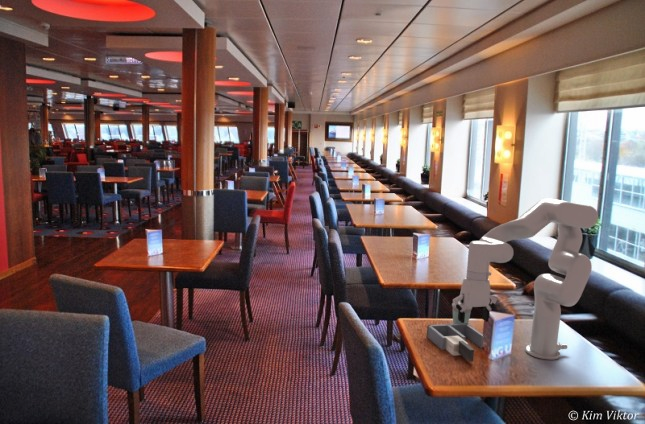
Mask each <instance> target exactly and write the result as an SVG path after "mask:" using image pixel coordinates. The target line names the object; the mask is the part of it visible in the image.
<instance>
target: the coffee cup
mask: <svg viewBox="0 0 645 424" xmlns="http://www.w3.org/2000/svg"><path fill="white" fill-rule="evenodd" d="M458 304H459V305H460V304H461V303H460V301H459V302H458ZM451 306H452V324H468V325H469V322H470V317H471V313H472V312H471V311H472V309H473V307H467V308H466V309H465V311H464V312H465V320H464V323H461V322H460V321H459V320H458V311H459V310H458V309H457V308H456V307H455V306H454V303H453V302H452V303H451Z"/></svg>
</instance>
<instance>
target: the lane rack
mask: <svg viewBox="0 0 645 424" xmlns="http://www.w3.org/2000/svg"><path fill="white" fill-rule="evenodd" d="M483 335H484V334H483V333H481V332H480V331H479V330H477V329H476V328H474V327H473V326H471V325H470V324H469V323H468V324H453V323H449V324H448V323H447V324H445V323H444V324H428V325H427V328H426V338H428V339H429V340H430V341H431V342H432V343H433V344H434V345H435V346H437V348H439V349H440V350H441V351H446V349H445V343H446V338H445V337H444V336H459V337H461V338H462V339H463V340H464V341H466V339H469V340H470V341H471V343H473V344H475V345H476V346H477V347H479V348H480V349H483V348H482V347H483V339H484V336H485V335H484V336H483ZM484 340H485V339H484Z"/></svg>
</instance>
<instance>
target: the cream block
mask: <svg viewBox="0 0 645 424" xmlns="http://www.w3.org/2000/svg"><path fill="white" fill-rule="evenodd" d="M444 337H445V338H446V343H445V351H447V352H448V353H449V354H450V355H451V356H455V357H456V356H461V357H463V358H464V359H465V360H467V362H470V363H471V362H474V355H475V349H474V348H473V347H471V346H470V345H469V343H468V342H467V341H466V340H465V341H464V340H463V339H462V338H461V337H459V336H444Z"/></svg>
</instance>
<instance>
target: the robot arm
mask: <svg viewBox="0 0 645 424" xmlns="http://www.w3.org/2000/svg"><path fill="white" fill-rule="evenodd" d="M598 220H599V213H598V210H597V209H596V208H595V207H594V206H591V205H587V204H581V203H575V202H571V201H566V200H561V199H554V198H543V199H540V200H539V201H537V202H536V204H534V205H533V206H531V207H530V208H529V209H528V210H526V211H525V212H524V213H523V214H522V215H520V216H519V217H517V218H516V219H513V220H510V221H507V222H505V223H502V224H499V225H498V226H496V227H493V228H492V229H490V230H489V231H488V232H487V233H485V234H484V235H483V236H481V238H480V239H479V240H472V241H470V243H469V245H468V250H467V251H468V254H467V265H466V267H467V268H466V276H465V277H464V278H463V280H462V283H461V287H460V293H459V295H457V296H456V297H455V298H453V299H452V303H454V306H455V307H456V308H457V309H458V310H459V311H458V320H459V321H460V322H461V323H464V320H465V312H464V311H465V309H466V308H467V307H472V308H478V307H479V308H481V307H483V309H482V315H481V316H482V320H483V321H484V322H487V323H488V322H489V319H490V312H492V309H493V308H494V307H495V305H496V303H497V301H498V298H496V296H493V295H491V282H490V279H489V277H491V276H492V272H491V271H490V263H498V264H502V263H503V264H504V263H507V262H510V261H511V260H512V259H513V256H514V248H513V247H512V245H511V244H510V243H508V242H510V241H514V240H516V241H517V240H524V239H530V238H533V237H534V236H536V235H537V234H538V233H539V232H541V231H542V230H543V229H545V228H546V227H547V226H548V225H549V224H551V223H553V224H557V226H558V237H557V239H556V241H555V244H554V247H553V249H552V251H551V253H550V256H549V258H548V267H549V269H550V270H551V271H553V272H555V273H558V274H561V275H564V276H565V278H563V277H561V276H558V275H555V274H551V273H541V274H539V275H538V276H537V277H536V278H535V280H534V282H533V291H534V292H533V293H534V309H533V316H532V317H533V318H532V327H531V336H530V343H529V344H528V345H527V346H525V353H527V354H528V355H530V356H531V357H535V358H537V359H541V360H549V361H551V360H552V361H553V360H559V359H560V358H561V352H560V350H568V344H566V343H560V342H558V339H559V332H560V322H561V315H562V314H561V312H562V310H561V306H564V307H573V306H575V305H576V304H577V303H578V302H579V300H580V298H581V297H582V294H583V292H584V290H585V288H586V286H587V283H588V281H589V278H590V276H591V273H592V266H593V265H592V261H591V259H590V258H589V257H588V256H587V255H585V254H583V253H581V252H580V249H581V247H582V243H583V232H582V230H581V229H585V230H586V229H590V228H592V227H594V226H595V225H596V224H597V223H598ZM459 301H460V303H461V304H460V305H459V304H458V302H459Z"/></svg>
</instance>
